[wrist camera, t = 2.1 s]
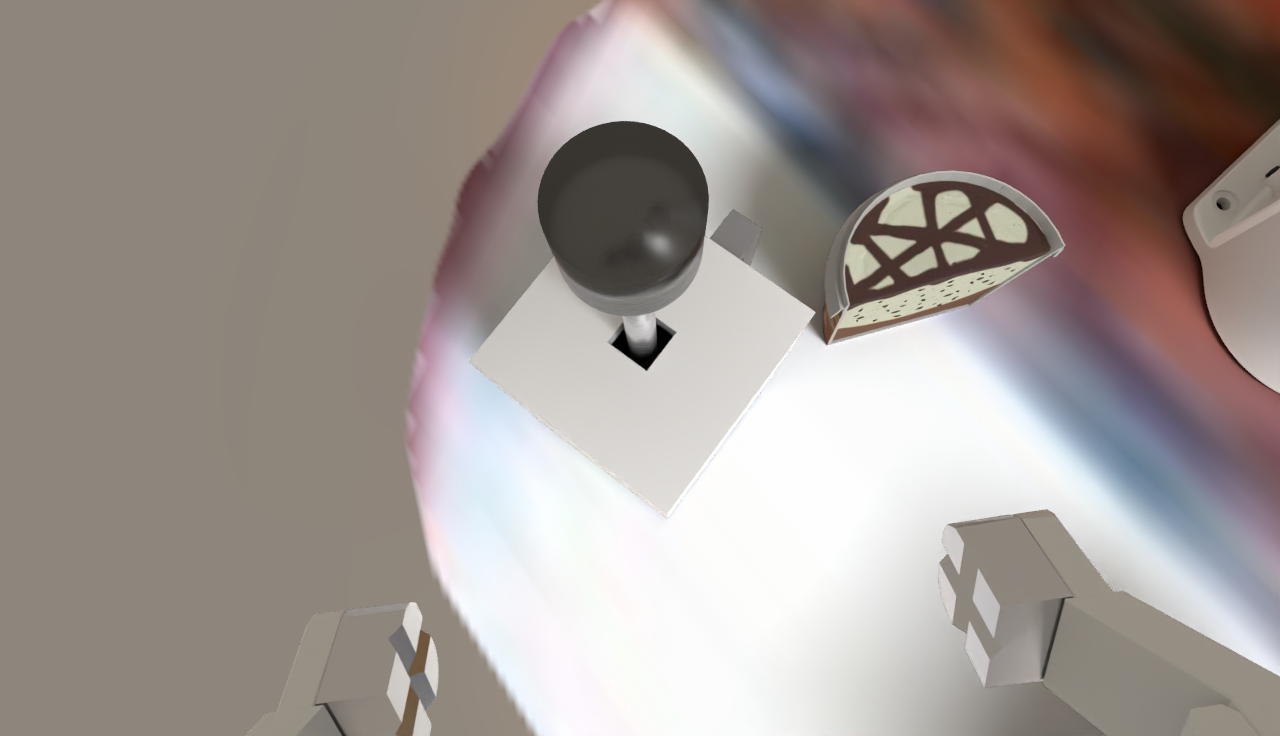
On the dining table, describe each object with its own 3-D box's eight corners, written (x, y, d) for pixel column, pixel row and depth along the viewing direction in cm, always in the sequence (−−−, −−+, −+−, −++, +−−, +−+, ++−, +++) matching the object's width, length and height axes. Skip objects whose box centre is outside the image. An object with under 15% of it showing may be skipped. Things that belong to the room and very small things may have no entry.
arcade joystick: (661, 259, 50) (658, 126, 33) (790, 350, 48) (855, 258, 32) (537, 418, 48) (468, 361, 32) (667, 518, 47) (667, 513, 30)
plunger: (638, 315, 39) (607, 90, 19) (703, 362, 38) (742, 181, 18) (589, 379, 38) (503, 216, 18) (654, 427, 38) (639, 315, 18)
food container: (959, 210, 50) (1031, 133, 40) (993, 299, 49) (1075, 242, 39) (774, 260, 50) (800, 195, 40) (803, 351, 48) (838, 307, 39)
